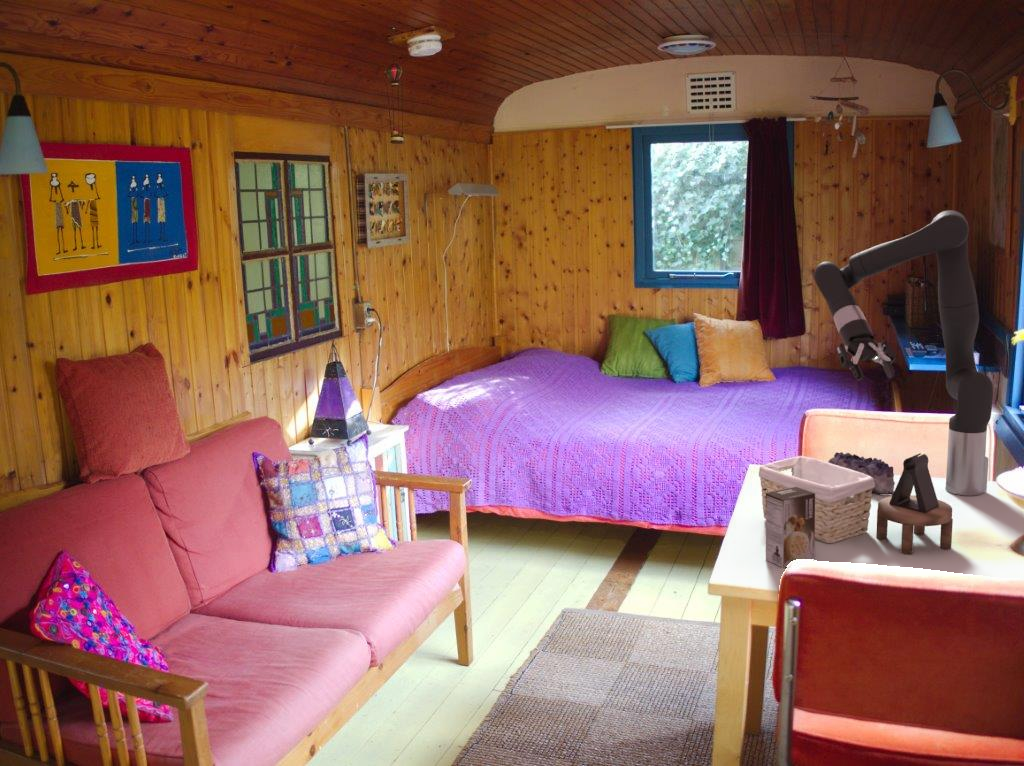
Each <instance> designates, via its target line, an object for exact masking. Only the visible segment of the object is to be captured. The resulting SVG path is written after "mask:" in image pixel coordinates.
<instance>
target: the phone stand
mask: <svg viewBox="0 0 1024 766" xmlns="http://www.w3.org/2000/svg"><path fill="white" fill-rule="evenodd" d="M902 465H903V469H902V473H901V475H900V478H899V479H898V482H897V484H896V487H895V488H894V493H893V494H892V495H891V496H892V498H891V500H890V503H889V504H890V505H893V506H897V507H902V508H906V509H907V508H908V509H910V510H914V511H919V512H923V513H926V512H928V511H930V510H932V509H934V508H936V507H938V506H939V503H938V500H939V499H938V497H937V494H936V490H935V487H934V484H933V483H934V482H933V480H932V477H931V473H930V470H929V458H928V456H927V454H925V453H923V454H921V452H920V453H917V454H915V455H913V456H910V457H908V458H906V459H904V460H903V463H902ZM913 488H914V492H915V496H916V498H917V500H913V499H910V495H911V494H912V493H913Z"/></svg>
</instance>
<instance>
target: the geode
mask: <svg viewBox="0 0 1024 766" xmlns="http://www.w3.org/2000/svg"><path fill="white" fill-rule="evenodd" d="M833 455H834V456H833V457H832V458H830V459H829V460H828V463H831V464H834V465H838V466H841V467H844V468H848V469H851V470H854V471H858V472H861V473H863V474H866V475H869V476H871V477H872V478H873V479H874V483H875V487H874V488H873V489H872V492H875V493H876V494H878V495H879V494H892V495H893V493H894V491H895V484H896V482H895V480H894V479H895V478H894V477H895V474H894V467H893V466H892V465H891V466H890V465H889V464H888V462H887V463H886V462H885V461H884V460H882V459H881V458H880V459H878V458H876V457H874V458H872V457H868V458H865V457H864V456H859V455H857V454H855V453H854V454H851V453H849V452H846V453H844V452H842V451H841V452H835V453H834V454H833Z"/></svg>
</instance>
